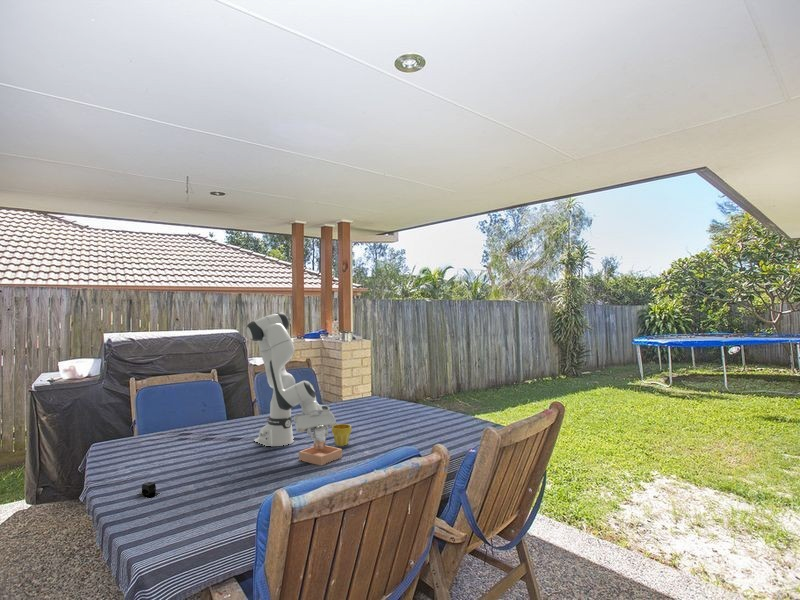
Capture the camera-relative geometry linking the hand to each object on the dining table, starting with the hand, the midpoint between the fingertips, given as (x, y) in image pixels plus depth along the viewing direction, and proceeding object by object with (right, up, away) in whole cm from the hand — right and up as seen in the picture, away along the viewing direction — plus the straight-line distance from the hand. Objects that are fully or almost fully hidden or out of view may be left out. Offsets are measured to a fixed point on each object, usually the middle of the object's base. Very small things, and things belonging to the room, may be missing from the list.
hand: (320, 436), depth 213 cm
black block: (-59, -10, -42) cm, 73 cm away
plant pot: (+7, -12, +24) cm, 28 cm away
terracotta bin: (0, -11, +1) cm, 11 cm away
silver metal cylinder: (0, -5, 0) cm, 5 cm away
